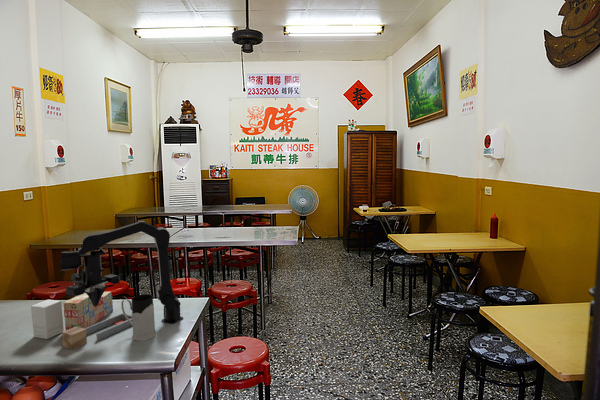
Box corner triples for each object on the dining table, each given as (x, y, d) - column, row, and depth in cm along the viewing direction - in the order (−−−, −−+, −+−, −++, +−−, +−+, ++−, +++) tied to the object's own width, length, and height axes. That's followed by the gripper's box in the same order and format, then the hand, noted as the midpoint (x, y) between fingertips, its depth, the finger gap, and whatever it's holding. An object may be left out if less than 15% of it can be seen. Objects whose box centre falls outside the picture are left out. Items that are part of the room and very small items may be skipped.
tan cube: (87, 343, 139) (86, 329, 139) (72, 349, 134) (71, 335, 134) (77, 340, 142) (76, 326, 141) (63, 346, 137) (61, 332, 136)
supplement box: (64, 331, 149) (62, 300, 148) (46, 339, 142) (44, 307, 141) (50, 329, 152) (48, 298, 150) (32, 337, 145) (30, 305, 143)
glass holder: (146, 341, 139) (143, 302, 138) (115, 337, 144) (112, 299, 142) (161, 331, 148) (159, 294, 146) (131, 327, 152) (129, 291, 151)
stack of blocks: (100, 311, 170) (99, 284, 169) (113, 311, 169) (111, 285, 168) (65, 331, 149) (63, 302, 148) (79, 332, 148) (77, 302, 147)
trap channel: (138, 322, 157) (138, 316, 157) (98, 340, 141) (98, 334, 141) (123, 318, 161) (122, 312, 161) (82, 335, 145) (82, 329, 145)
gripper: (101, 259, 155) (104, 295, 157) (55, 270, 139) (58, 311, 140) (119, 262, 150) (121, 299, 152) (73, 274, 134) (76, 316, 135)
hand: (95, 306), depth 145 cm, fingers closed
